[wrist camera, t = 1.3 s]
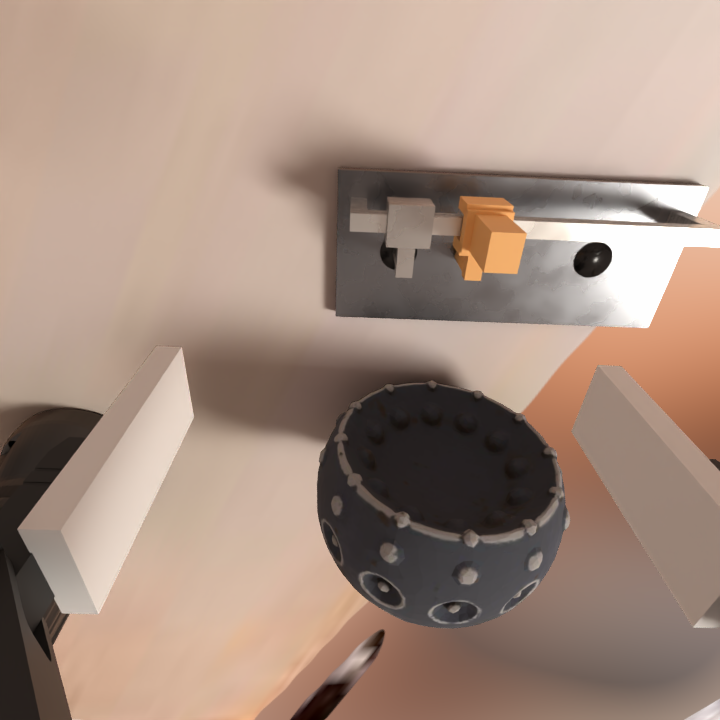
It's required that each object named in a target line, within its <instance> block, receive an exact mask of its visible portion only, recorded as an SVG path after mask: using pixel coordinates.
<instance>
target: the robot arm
mask: <svg viewBox="0 0 720 720" xmlns="http://www.w3.org/2000/svg"><path fill="white" fill-rule="evenodd" d="M193 418H194V414H193V408H192V402H191V397H190V391H189V385H188V380H187V374H186V368H185V363H184V357H183V351H182V347H174V346H156V347H155V348H154V350H153V351H152V352H151V354H150V355H149V356H148V357H147V359H146V360H145V361H144V363H143V364H142V365H141V367H140V368H139V369H138V371H137V372H136V373H135V375H134V376H133V377H132V379H131V380H130V381H129V382H128V384H127V385H126V386H125V388H124V389H123V390H122V392H121V393H120V394H119V396H118V397H117V398H116V400H115V401H114V402H113V404H112V405H111V406H110V407H109V409H108V410H107V411H106V413H105V414H104V415H103V416H102V415H99V414H96V413H92V412H88V411H83V410H76V409H55V410H49V411H45V412H41V413H38V414H36V415H34V416H32V417H30V418H29V419H27V420H26V421H25V422H24V423H23V424H22V425H21V426H20V427H19V428H18V429H17V430H16V431H15V432H14V433H13V434H12V435H11V436H10V437H9V439H8V440H7V442H6V443H5V445H4V447H3V450H2V452H1V456H0V720H72V718H71V714H70V710H69V706H68V703H67V699H66V695H65V691H64V687H63V684H62V680H61V676H60V672H59V668H58V664H57V661H56V657H55V653H54V649H53V644H54V642H55V640H56V639H57V637H58V635H59V633H60V631H61V629H62V627H63V625H64V624H65V622H66V620H67V618H68V616H69V614H99V612H100V610H101V608H102V606H103V604H104V602H105V600H106V598H107V596H108V594H109V592H110V590H111V588H112V586H113V583H114V581H115V579H116V577H117V575H118V573H119V571H120V569H121V567H122V565H123V563H124V561H125V559H126V557H127V555H128V553H129V550H130V548H131V546H132V544H133V542H134V540H135V538H136V536H137V534H138V532H139V530H140V528H141V526H142V524H143V522H144V519H145V517H146V515H147V513H148V511H149V509H150V507H151V505H152V503H153V501H154V499H155V497H156V495H157V493H158V491H159V488H160V486H161V484H162V482H163V480H164V478H165V476H166V474H167V472H168V470H169V468H170V466H171V464H172V462H173V460H174V457H175V455H176V453H177V451H178V449H179V447H180V445H181V443H182V441H183V439H184V437H185V435H186V433H187V431H188V429H189V427H190V424H191V422H192V420H193ZM572 433H573V435H574V437H575V438H576V440H577V441H578V443H579V445H580V446H581V448H582V449H583V451H584V453H585V454H586V456H587V458H588V459H589V461H590V462H591V464H592V466H593V467H594V469H595V470H596V472H597V474H598V475H599V477H600V478H601V480H602V482H603V483H604V485H605V487H606V488H607V490H608V491H609V493H610V495H611V496H612V498H613V499H614V501H615V503H616V504H617V506H618V508H619V509H620V510H621V512H622V514H623V516H624V517H625V519H626V520H627V522H628V524H629V525H630V527H631V528H632V530H633V532H634V533H635V535H636V536H637V538H638V540H639V541H640V543H641V545H642V546H643V548H644V549H645V551H646V553H647V554H648V556H649V557H650V559H651V561H652V562H653V564H654V566H655V567H656V569H657V570H658V572H659V574H660V575H661V577H662V578H663V580H664V581H665V583H666V585H667V587H668V588H669V590H670V591H671V593H672V595H673V596H674V598H675V599H676V601H677V603H678V604H679V606H680V607H681V609H682V611H683V612H684V614H685V615H686V617H687V619H688V620H689V622H690V624H691V625H692V627H696V628H698V627H699V628H720V462H718V461H717V460H716V459H708V458H707V457H706V456H705V455H704V454H703V453H702V452H701V451H700V450H699V449H698V447H697V446H696V445H695V444H694V443H693V442H692V441H691V440H690V439H689V438H688V437H687V436H686V435H685V434H684V432H683V431H682V430H681V429H680V428H679V427H678V426H677V425H676V424H675V423H674V422H673V421H672V420H671V419H670V418H669V417H668V415H666V413H665V412H664V411H663V410H662V409H661V408H660V407H659V406H658V405H657V404H656V403H655V402H654V401H653V399H651V397H650V396H649V395H648V394H647V393H646V392H645V391H644V390H643V389H642V388H641V387H640V386H639V385H638V384H637V382H636V381H635V380H634V379H633V378H632V377H631V376H630V375H629V374H628V373H627V372H626V371H625V370H624V369H623V368H622V367H621V366H604V365H598V366H597V368H596V371H595V373H594V376H593V379H592V381H591V384H590V386H589V389H588V391H587V394H586V396H585V399H584V401H583V404H582V406H581V409H580V411H579V414H578V416H577V419H576V421H575V424H574V426H573V429H572Z"/></svg>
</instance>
